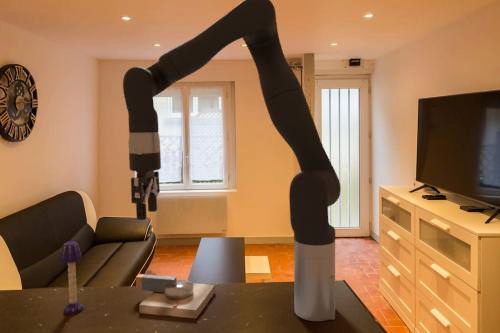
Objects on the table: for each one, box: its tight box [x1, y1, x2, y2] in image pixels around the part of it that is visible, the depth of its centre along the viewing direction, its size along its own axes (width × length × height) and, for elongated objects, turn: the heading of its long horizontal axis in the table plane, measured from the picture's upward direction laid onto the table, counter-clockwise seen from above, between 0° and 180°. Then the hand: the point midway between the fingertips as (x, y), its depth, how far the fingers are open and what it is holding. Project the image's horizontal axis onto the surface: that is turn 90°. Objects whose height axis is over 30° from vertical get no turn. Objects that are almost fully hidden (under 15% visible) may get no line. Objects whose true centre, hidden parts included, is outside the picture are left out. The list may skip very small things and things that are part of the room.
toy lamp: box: [59, 240, 84, 315], centre depth 89 cm, size 5×5×17 cm
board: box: [138, 282, 216, 319], centre depth 94 cm, size 14×14×2 cm
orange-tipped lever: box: [135, 273, 193, 299], centre depth 94 cm, size 15×7×4 cm, turn 77°
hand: (147, 215), depth 95 cm, fingers open, 8 cm apart
